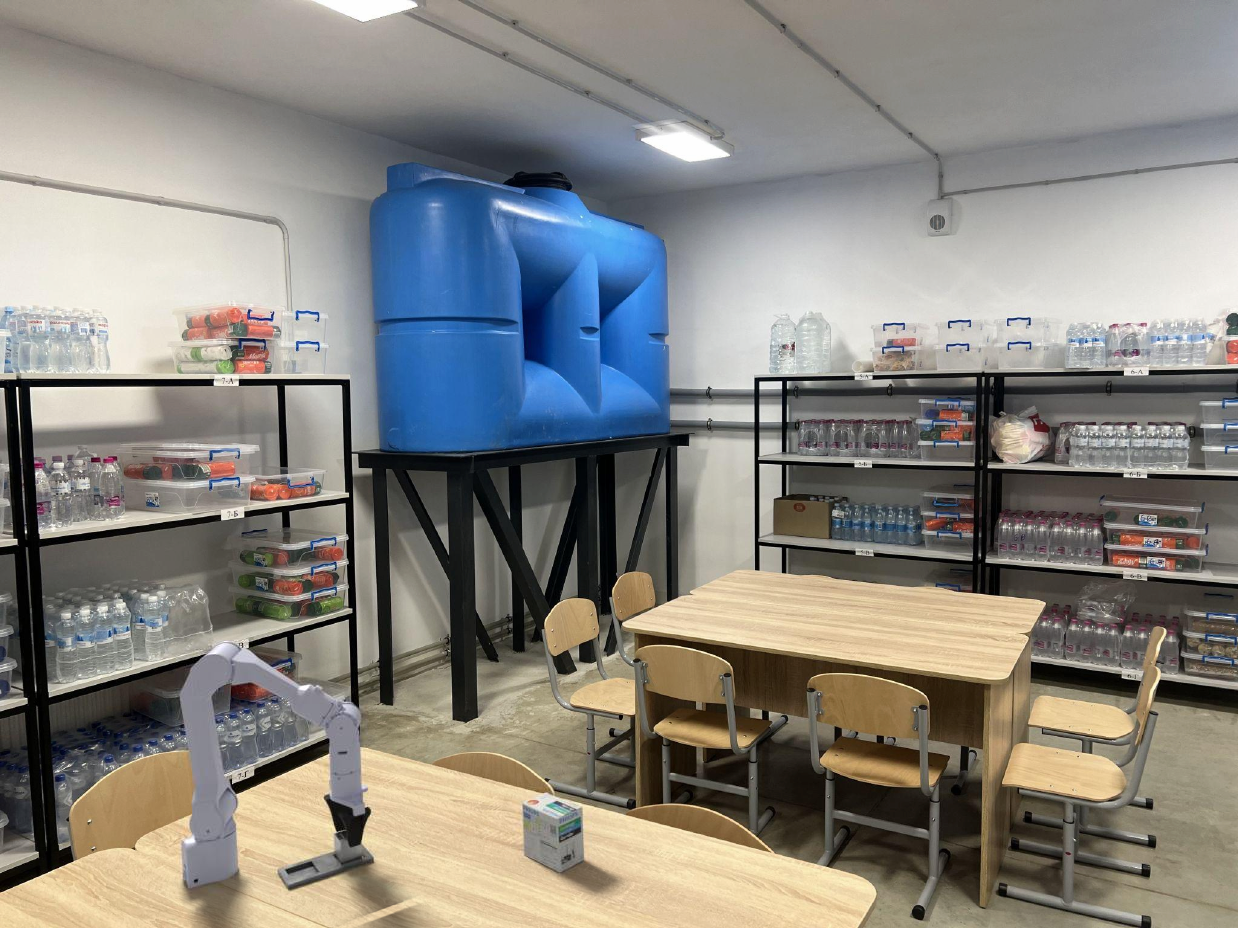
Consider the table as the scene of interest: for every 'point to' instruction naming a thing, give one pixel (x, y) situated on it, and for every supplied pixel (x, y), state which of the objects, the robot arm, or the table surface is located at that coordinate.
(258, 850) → the table surface
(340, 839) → the grey square block
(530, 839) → the light bulb box
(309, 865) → the dark gray slotted base
